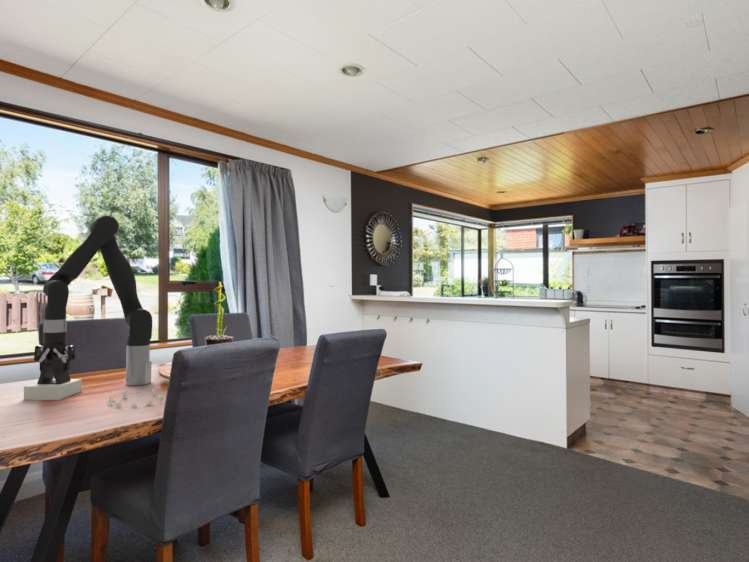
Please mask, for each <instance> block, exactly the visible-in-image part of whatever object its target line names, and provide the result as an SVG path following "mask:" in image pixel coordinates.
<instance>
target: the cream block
mask: <svg viewBox="0 0 749 562" xmlns="http://www.w3.org/2000/svg"><path fill="white" fill-rule="evenodd" d="M53 380H55V378H53ZM70 380H71V381H69V382H66V383H63V384H37V382H33V383H30V384H27V385H24V386H23V401H26V400H27V401H29V400H30V401H60V400H62V399H64V398H65V399H66V398H68V397H70V396H72V395H73V396H74V395H75V394H78V393H80V392H82V385H83V384H82V383H83V382H82V379H81V378H70Z"/></svg>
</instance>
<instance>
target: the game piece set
mask: <svg viewBox="0 0 749 562" xmlns="http://www.w3.org/2000/svg"><path fill="white" fill-rule="evenodd" d="M151 392H152V396H153V397H155V396H156V394H157V393H156V392H157V390H156V388H152V390H151ZM120 394H121V396H122V399H120V400H119V401H118V402H117V401H115V399H114V397H116V393H114V394H113V396H111V395H110V396H109V397H108V403H106V405H107V406H108V407H110V406H115V407H116V408H122V403H121V402H122V401H123V399H126V397H127V396H128V395H127V392H126V390H122V391H121V393H120ZM143 394H144V392H141V393H139V394H138V395H137V397H142V395H143ZM157 398H158V401H157V402H159V403H162V402H163V398H164V395H163V394H162V393H161V394H160V395H158V396H157ZM114 403H115V404H114ZM145 404H146V405H148V406H151V404H153V400H152V398H151V399H149V401H147V402H146V403H145ZM130 408H131V409H136V408H137V404H136V403H135V402H132V403H131V406H130Z"/></svg>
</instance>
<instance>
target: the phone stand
mask: <svg viewBox="0 0 749 562" xmlns="http://www.w3.org/2000/svg"><path fill="white" fill-rule="evenodd" d="M50 354H52V357H50ZM62 355H63V354H62ZM63 363H64V362H63V361H62V359H60V358H59V357H57V355H56V353H48V354H47V355H46V361H45V365H44V367H43V370H42V372H41V371H40V375H39V378H38V380H37V382H36V383H37V384H63V383H66V382H69V381H71V380H70V379H71V378H70V374H69V371H68V372H63ZM53 379H55V380H53Z"/></svg>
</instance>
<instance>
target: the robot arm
mask: <svg viewBox="0 0 749 562" xmlns="http://www.w3.org/2000/svg"><path fill="white" fill-rule="evenodd" d="M119 228H120V224H119V222H118V220H117V218H115V217H114V216H111V215H102V216H98V217H95V218H94V219H92V221H91V222H90V224H89V230H90V234H89V235H87V237H86V239H85V240H84V241H83V242H82V243H81V244H80V245H79V246H78V247H76V249H75V250H74V251H73V252H72V253H71V254H70V255H69V256H68V257H67V259H66V260H65V261H64V262H63V263H62V265H61V266H60V267H59V269H58V270H57V271H56V272H55V273H54V274H53V275H52V276H50V278H49V279H48V280H47V281H45V283H44V284H43V287H42V291H43V293H44V295H45V296H46V297H47V304H46V306H45V308H44V315H43V316H44V318H43V319H44V322H43V326H42V327H43V329H42V330H43V332H42V334H43V336H42V338H43V339H42V340H43V341H42V343H43V345H42V344H39V345H35V346H34V355H33V358H34V359H33V361H35V362H38V363H39V371H40V373H41V372H42V370H43V367H44V365H45V362H46V355H47V354H48V353H56V355H57V357H59V358H60V359H62V361H63V362H64V363H63V372H68V373H69V371H70V366H71V365H70V362H73V361H75V360H76V353H75V352H76V351H75V349H76V348H75V345H67V341H68V340H67V331H68V328H67V327H68V325H67V305H68V299H69V294H70V290H69V289H70V288H69V286H70V284H71V283H72V282H73V281H75V280H76V279H78V278H79V276H80V275H81V274H82V272H84V270H85V268H86V267H87V266H88V264H90V262H91V261H92V259H93V258H94V256H95V255H96V254H97V253H98V252H99V251H100V253H101V257H102V259H103V262H104V265H105V268H106V270H107V274H108V275H109V279H110V281H111V284H112V286H113V289H114V290H115V293H116V295H117V297H118V299H119V303H120V305H121V308H122V312H123V316H124V321H125V323H126V325H127V326H128V327H129V330H128V331H129V332H128V337H127V339H126V359H125V361H126V363H125V364H126V365H125V366H126V367H125V385H126V386H145V385H147V384H149V383H152V361H151V360H150V359H151V357H150V356H151V355H150V354H151V351H150V350H151V340H152V336H153V335H152V334H153V316H152V313H151V312H150V311H149V310H147V309H144V308H143V305H142V304H141V302H140V299H139V296H138V291H137V281H136V276H135V273H134V271H133V268H132V266H131V264H130V263H131V262H130V261H129V260H128V258H127V257H126V255H125V254H124V253H123V252H122V250H121V249H120V246H119V245H118V241H117V239H116V234H117V233H118V232H119ZM43 351H44V352H43ZM62 354H63V355H62ZM50 357H52V354H50Z"/></svg>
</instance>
